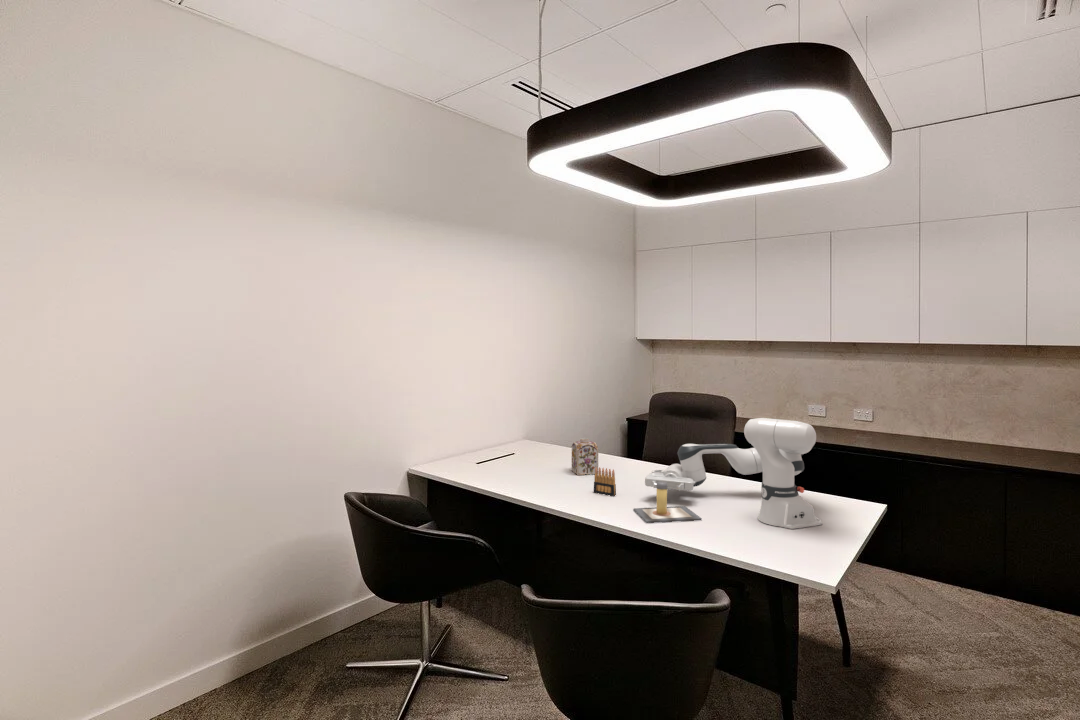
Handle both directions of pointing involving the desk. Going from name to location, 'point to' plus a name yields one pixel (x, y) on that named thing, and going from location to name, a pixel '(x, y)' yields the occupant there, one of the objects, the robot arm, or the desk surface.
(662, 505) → the marker
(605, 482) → the ammunition clip
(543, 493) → the desk surface
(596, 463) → the decorative jar
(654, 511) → the grey metal tray
